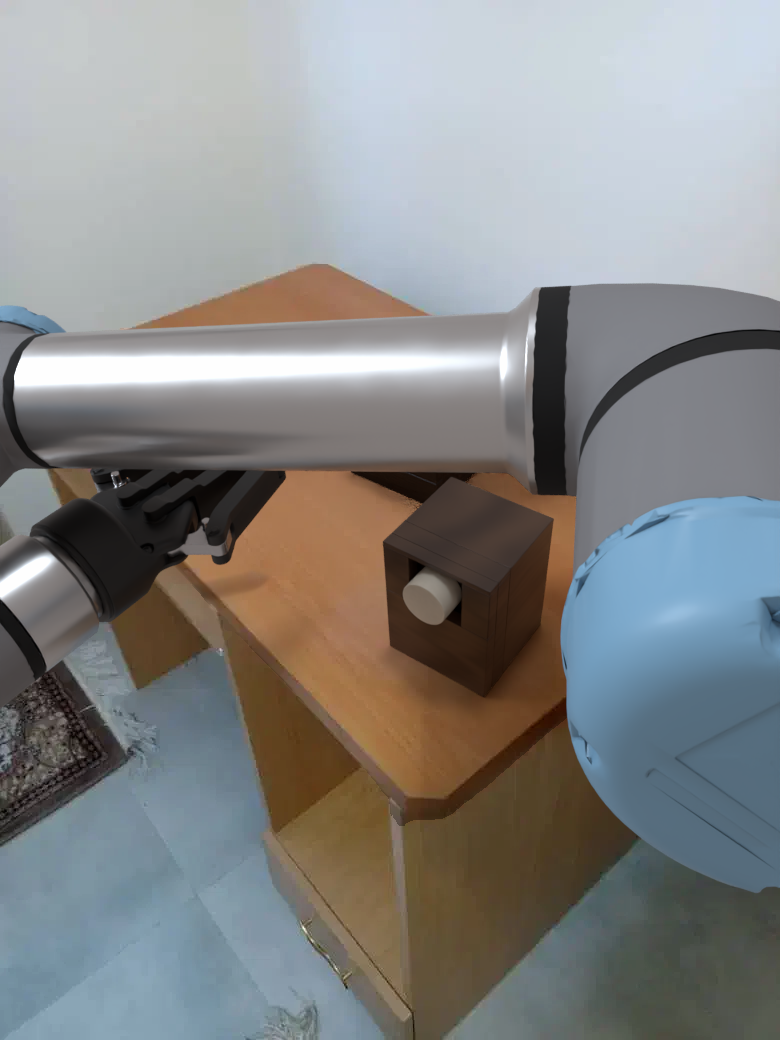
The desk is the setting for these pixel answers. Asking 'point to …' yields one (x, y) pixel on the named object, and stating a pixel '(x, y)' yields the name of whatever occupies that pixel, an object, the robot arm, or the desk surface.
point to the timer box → (470, 581)
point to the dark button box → (413, 482)
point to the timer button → (432, 596)
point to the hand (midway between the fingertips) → (313, 401)
